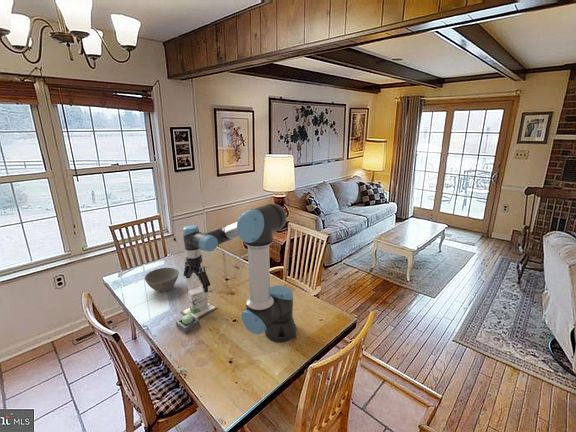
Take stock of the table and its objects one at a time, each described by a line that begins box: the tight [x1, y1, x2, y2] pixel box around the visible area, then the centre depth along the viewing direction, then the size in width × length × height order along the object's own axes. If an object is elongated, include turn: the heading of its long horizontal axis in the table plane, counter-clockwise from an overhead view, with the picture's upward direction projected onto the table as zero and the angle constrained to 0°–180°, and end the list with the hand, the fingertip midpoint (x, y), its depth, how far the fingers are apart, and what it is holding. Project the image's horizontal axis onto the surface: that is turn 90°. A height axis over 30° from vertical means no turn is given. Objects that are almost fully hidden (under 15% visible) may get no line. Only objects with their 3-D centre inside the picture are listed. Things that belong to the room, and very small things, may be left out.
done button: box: [181, 315, 193, 326], centre depth 147 cm, size 5×5×3 cm
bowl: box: [144, 267, 180, 292], centre depth 178 cm, size 19×19×10 cm
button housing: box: [175, 314, 201, 334], centre depth 147 cm, size 8×8×3 cm
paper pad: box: [180, 301, 218, 320], centre depth 160 cm, size 12×15×1 cm
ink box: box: [187, 285, 209, 314], centre depth 158 cm, size 8×5×12 cm, turn 127°
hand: (198, 293), depth 156 cm, fingers open, 13 cm apart
